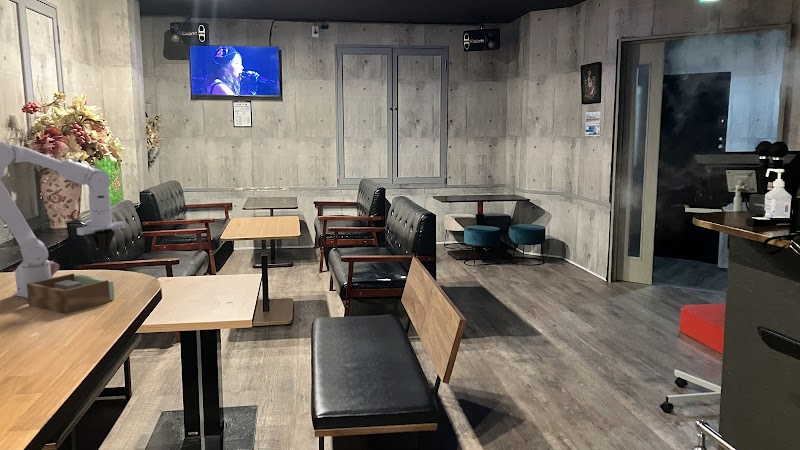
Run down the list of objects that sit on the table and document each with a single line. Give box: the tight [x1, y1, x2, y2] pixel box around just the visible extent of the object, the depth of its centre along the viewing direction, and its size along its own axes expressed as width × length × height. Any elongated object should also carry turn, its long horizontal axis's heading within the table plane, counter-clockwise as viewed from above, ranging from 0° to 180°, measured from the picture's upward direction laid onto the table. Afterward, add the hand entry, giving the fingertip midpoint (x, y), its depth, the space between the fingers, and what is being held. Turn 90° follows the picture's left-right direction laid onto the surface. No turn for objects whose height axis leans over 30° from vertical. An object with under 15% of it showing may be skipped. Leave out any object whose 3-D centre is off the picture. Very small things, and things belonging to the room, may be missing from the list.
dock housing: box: [27, 273, 111, 315], centre depth 172 cm, size 16×13×6 cm
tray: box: [74, 274, 115, 301], centre depth 173 cm, size 15×14×5 cm
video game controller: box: [50, 260, 60, 278], centre depth 197 cm, size 10×5×7 cm, turn 170°
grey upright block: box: [54, 280, 82, 290], centre depth 171 cm, size 4×6×5 cm
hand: (103, 255), depth 189 cm, fingers closed
